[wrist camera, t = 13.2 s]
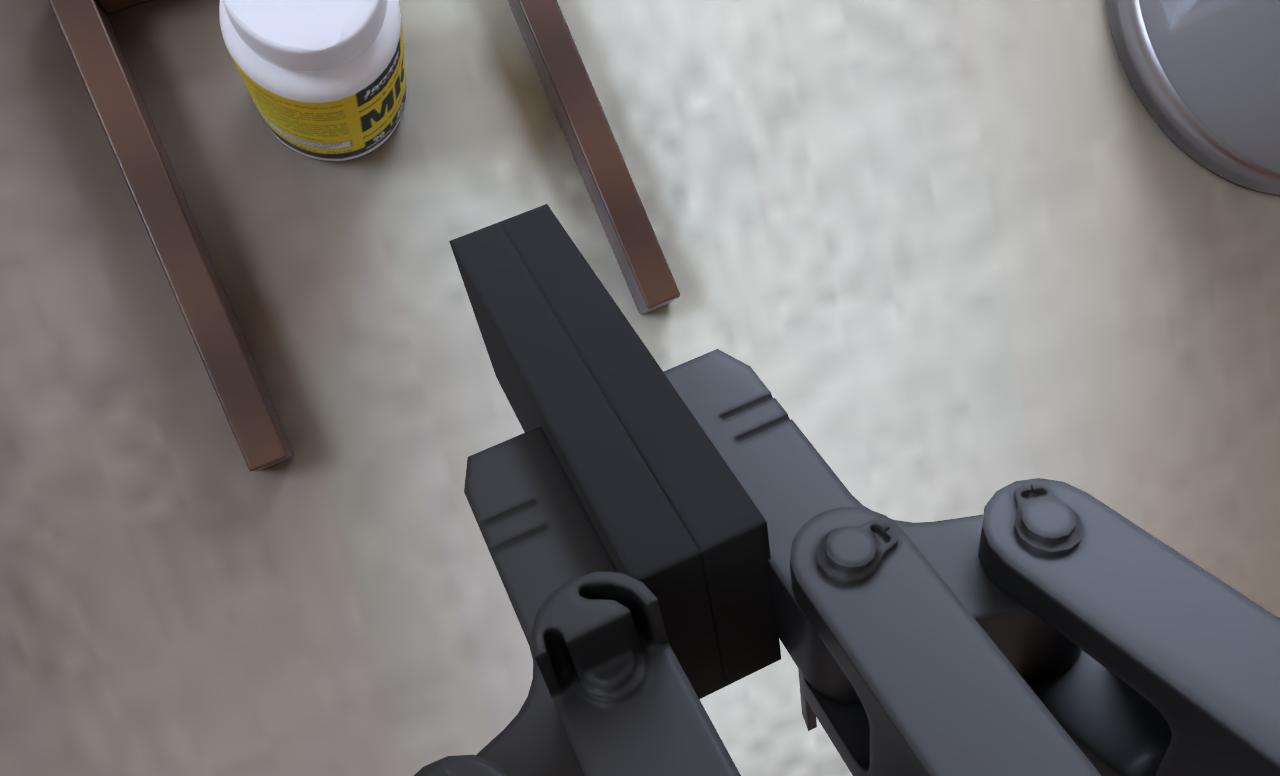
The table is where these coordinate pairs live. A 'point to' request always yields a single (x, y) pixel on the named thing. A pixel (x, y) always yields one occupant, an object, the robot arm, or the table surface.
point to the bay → (189, 264)
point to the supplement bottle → (321, 70)
